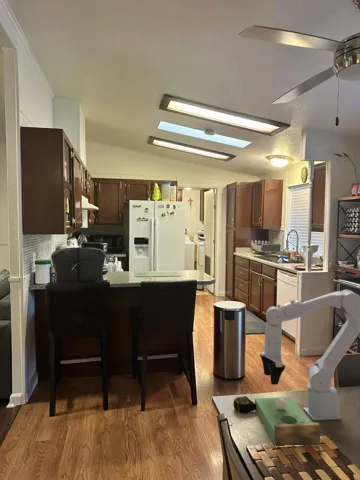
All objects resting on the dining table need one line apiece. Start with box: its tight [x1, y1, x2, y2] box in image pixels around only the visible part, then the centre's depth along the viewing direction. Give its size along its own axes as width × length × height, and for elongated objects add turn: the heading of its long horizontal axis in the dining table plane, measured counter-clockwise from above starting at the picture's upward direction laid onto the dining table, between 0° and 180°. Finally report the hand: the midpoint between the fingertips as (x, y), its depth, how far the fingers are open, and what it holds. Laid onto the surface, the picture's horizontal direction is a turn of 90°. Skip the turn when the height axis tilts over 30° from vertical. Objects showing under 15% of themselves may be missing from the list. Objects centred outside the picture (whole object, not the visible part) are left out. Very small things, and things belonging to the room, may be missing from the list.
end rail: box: [274, 422, 321, 446], centre depth 97 cm, size 13×1×6 cm, turn 93°
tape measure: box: [233, 395, 256, 414], centre depth 118 cm, size 7×7×4 cm
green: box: [254, 396, 319, 446], centre depth 107 cm, size 13×22×4 cm, turn 3°
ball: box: [275, 397, 287, 410], centre depth 110 cm, size 4×4×4 cm
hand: (270, 379), depth 118 cm, fingers open, 7 cm apart
